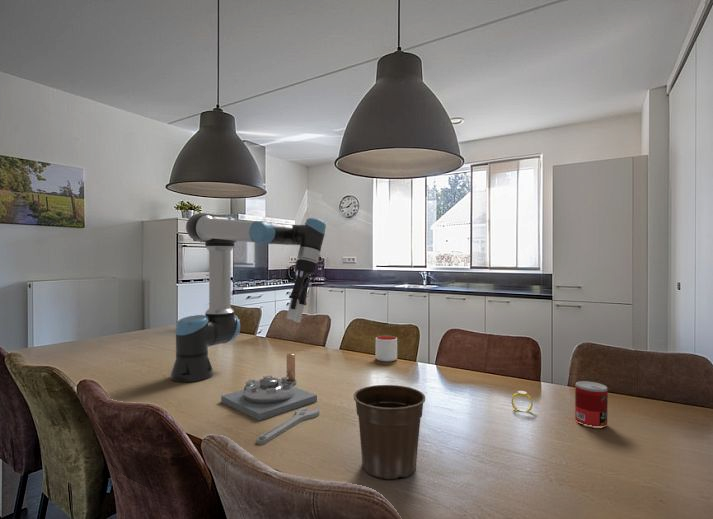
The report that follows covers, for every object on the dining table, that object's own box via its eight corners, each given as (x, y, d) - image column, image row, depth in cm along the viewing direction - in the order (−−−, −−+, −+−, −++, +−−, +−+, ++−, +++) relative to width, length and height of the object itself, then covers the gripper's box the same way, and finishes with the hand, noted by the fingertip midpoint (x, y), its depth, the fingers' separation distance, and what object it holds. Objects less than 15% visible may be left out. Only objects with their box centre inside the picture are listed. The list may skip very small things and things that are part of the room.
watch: (531, 411, 126) (533, 392, 126) (531, 415, 123) (533, 395, 123) (511, 407, 128) (512, 388, 128) (510, 410, 126) (512, 391, 126)
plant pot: (364, 445, 103) (364, 381, 103) (429, 454, 98) (429, 387, 98) (343, 478, 87) (344, 403, 87) (419, 491, 83) (419, 412, 82)
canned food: (607, 431, 111) (607, 391, 111) (574, 425, 115) (574, 386, 115) (607, 422, 117) (607, 383, 117) (576, 416, 122) (576, 379, 122)
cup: (400, 358, 190) (401, 337, 190) (390, 363, 181) (391, 340, 181) (382, 355, 195) (382, 334, 195) (371, 360, 187) (371, 338, 187)
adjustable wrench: (262, 447, 103) (262, 440, 103) (244, 441, 106) (244, 434, 106) (322, 414, 124) (322, 408, 124) (306, 410, 127) (306, 404, 127)
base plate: (221, 401, 133) (221, 395, 133) (277, 386, 149) (277, 380, 149) (259, 420, 118) (259, 413, 118) (317, 401, 134) (317, 395, 134)
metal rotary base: (244, 406, 123) (244, 363, 123) (243, 390, 139) (243, 351, 139) (300, 401, 128) (300, 359, 128) (292, 385, 144) (292, 348, 143)
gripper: (314, 255, 132) (299, 320, 128) (320, 270, 157) (308, 325, 152) (291, 251, 133) (276, 315, 128) (301, 266, 157) (288, 321, 153)
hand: (293, 320), depth 140 cm, fingers open, 13 cm apart
